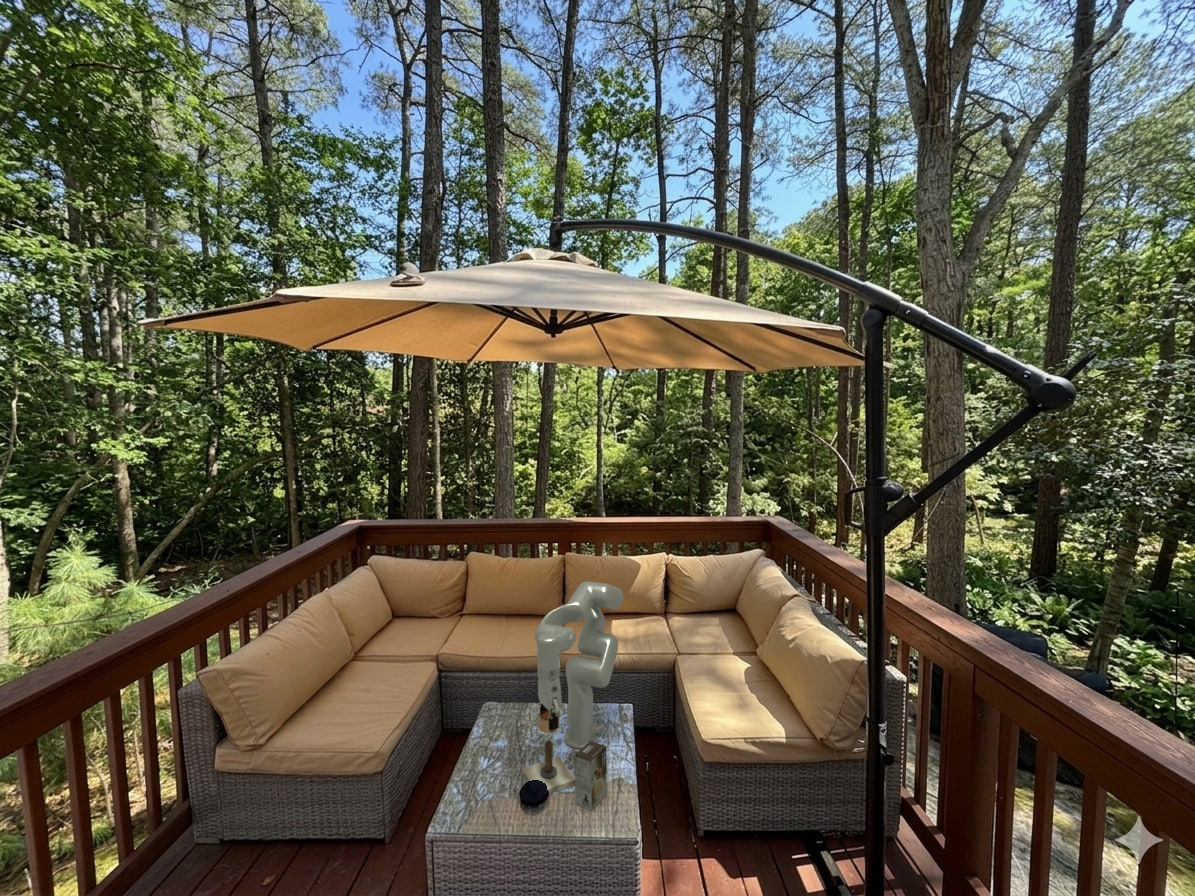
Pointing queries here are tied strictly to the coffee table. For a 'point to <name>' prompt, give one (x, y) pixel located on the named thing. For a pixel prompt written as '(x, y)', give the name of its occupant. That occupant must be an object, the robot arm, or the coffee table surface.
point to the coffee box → (591, 775)
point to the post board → (554, 782)
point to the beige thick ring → (545, 721)
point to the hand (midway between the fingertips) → (548, 722)
